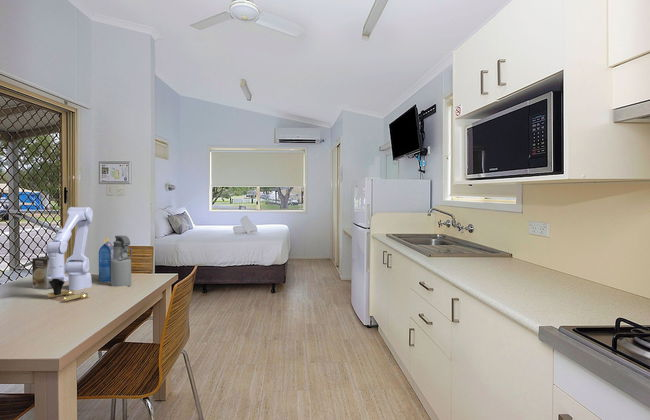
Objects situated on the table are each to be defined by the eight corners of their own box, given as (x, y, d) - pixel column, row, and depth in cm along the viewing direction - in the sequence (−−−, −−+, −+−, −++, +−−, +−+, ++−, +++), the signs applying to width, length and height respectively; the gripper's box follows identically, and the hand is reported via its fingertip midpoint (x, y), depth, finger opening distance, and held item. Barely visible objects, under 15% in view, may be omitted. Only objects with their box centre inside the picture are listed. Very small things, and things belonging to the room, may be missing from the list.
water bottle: (135, 285, 194) (135, 235, 193) (119, 289, 185) (118, 237, 184) (123, 283, 198) (123, 234, 197) (106, 287, 189) (106, 236, 188)
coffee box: (31, 288, 185) (31, 258, 184) (42, 285, 191) (42, 256, 191) (47, 289, 184) (46, 259, 184) (57, 286, 191) (57, 257, 190)
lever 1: (72, 293, 173) (72, 288, 173) (75, 294, 171) (75, 289, 171) (45, 298, 164) (45, 293, 164) (48, 299, 162) (48, 294, 162)
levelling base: (70, 295, 173) (70, 292, 173) (90, 299, 166) (90, 296, 166) (47, 300, 164) (47, 297, 164) (67, 305, 157) (67, 302, 157)
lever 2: (84, 296, 168) (84, 291, 168) (89, 297, 167) (89, 292, 167) (59, 302, 159) (59, 297, 158) (65, 303, 157) (65, 298, 157)
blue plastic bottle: (98, 282, 200) (98, 239, 199) (102, 277, 211) (101, 236, 210) (111, 281, 202) (110, 238, 201) (114, 277, 213) (113, 236, 212)
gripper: (38, 266, 164) (39, 295, 165) (56, 269, 158) (56, 298, 159) (55, 264, 171) (55, 291, 171) (73, 266, 165) (73, 294, 165)
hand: (57, 294), depth 165 cm, fingers closed, pressing on lever 1
